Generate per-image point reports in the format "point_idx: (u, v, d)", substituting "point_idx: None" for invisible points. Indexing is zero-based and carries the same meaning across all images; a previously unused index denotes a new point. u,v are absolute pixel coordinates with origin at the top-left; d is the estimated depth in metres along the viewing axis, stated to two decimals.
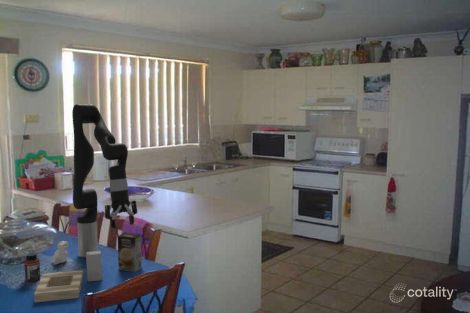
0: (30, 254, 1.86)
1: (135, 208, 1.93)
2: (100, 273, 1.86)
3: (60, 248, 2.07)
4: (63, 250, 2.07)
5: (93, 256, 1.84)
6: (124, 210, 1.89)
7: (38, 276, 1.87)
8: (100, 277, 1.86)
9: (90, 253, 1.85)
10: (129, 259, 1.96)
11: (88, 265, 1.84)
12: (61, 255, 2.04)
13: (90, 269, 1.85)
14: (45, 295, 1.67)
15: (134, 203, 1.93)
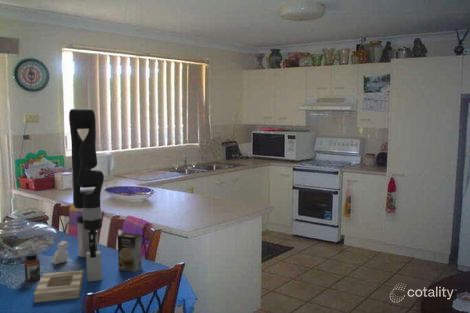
0: (30, 254, 1.86)
1: None
2: (100, 273, 1.86)
3: (60, 248, 2.07)
4: (63, 250, 2.07)
5: None
6: None
7: (38, 276, 1.87)
8: (100, 277, 1.86)
9: None
10: (129, 259, 1.96)
11: (88, 265, 1.84)
12: (61, 255, 2.04)
13: (90, 269, 1.85)
14: (45, 295, 1.67)
15: (96, 229, 1.91)
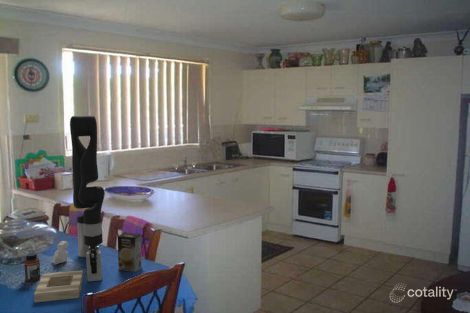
0: (30, 254, 1.86)
1: None
2: (100, 273, 1.86)
3: (60, 248, 2.07)
4: (63, 250, 2.07)
5: None
6: None
7: (38, 276, 1.87)
8: (100, 277, 1.86)
9: None
10: (129, 259, 1.96)
11: (88, 265, 1.84)
12: (61, 255, 2.04)
13: (90, 269, 1.85)
14: (45, 295, 1.67)
15: (97, 246, 1.92)
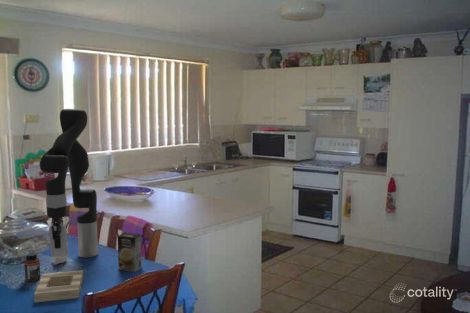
0: (30, 254, 1.86)
1: None
2: (64, 248, 1.74)
3: None
4: None
5: None
6: None
7: (38, 276, 1.87)
8: (64, 252, 1.75)
9: None
10: (129, 259, 1.96)
11: (51, 239, 1.73)
12: None
13: (53, 244, 1.73)
14: (45, 295, 1.67)
15: (62, 220, 1.80)
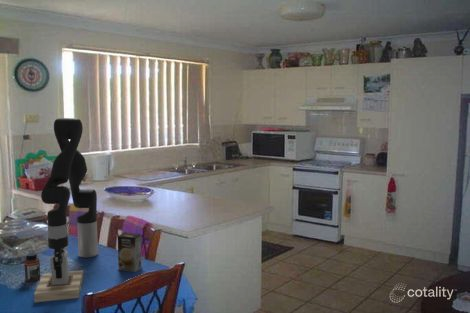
0: (30, 254, 1.86)
1: None
2: (66, 278, 1.76)
3: None
4: None
5: None
6: None
7: (38, 276, 1.87)
8: (66, 282, 1.76)
9: None
10: (129, 259, 1.96)
11: (53, 269, 1.74)
12: None
13: (55, 274, 1.75)
14: (45, 295, 1.67)
15: (63, 249, 1.82)
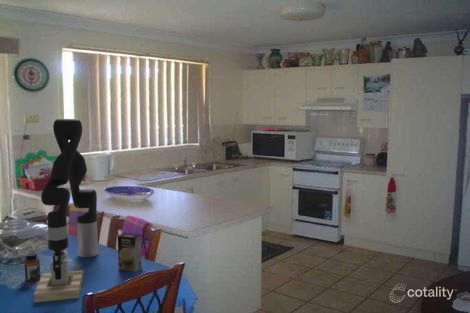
0: (30, 254, 1.86)
1: None
2: (66, 283, 1.76)
3: None
4: None
5: None
6: None
7: (38, 276, 1.87)
8: None
9: None
10: (129, 259, 1.96)
11: (53, 274, 1.74)
12: None
13: (55, 279, 1.75)
14: (45, 295, 1.67)
15: None
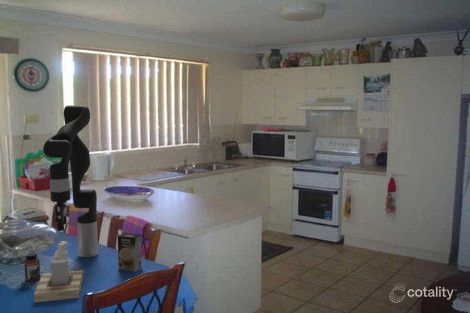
0: (30, 254, 1.86)
1: None
2: (66, 283, 1.76)
3: (60, 248, 2.07)
4: (63, 250, 2.07)
5: (59, 265, 1.74)
6: None
7: (38, 276, 1.87)
8: None
9: (55, 262, 1.75)
10: (129, 259, 1.96)
11: (53, 274, 1.74)
12: (61, 255, 2.04)
13: (55, 279, 1.75)
14: (45, 295, 1.67)
15: None
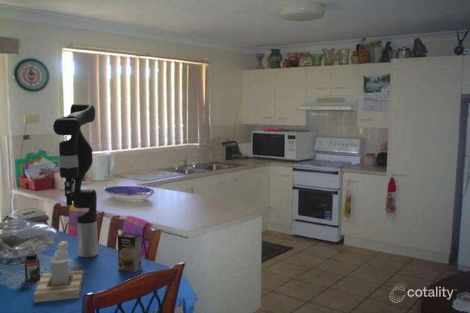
0: (30, 254, 1.86)
1: None
2: (66, 283, 1.76)
3: (60, 248, 2.07)
4: (63, 250, 2.07)
5: (59, 265, 1.74)
6: None
7: (38, 276, 1.87)
8: None
9: (55, 262, 1.75)
10: (129, 259, 1.96)
11: (53, 274, 1.74)
12: (61, 255, 2.04)
13: (55, 279, 1.75)
14: (45, 295, 1.67)
15: (74, 179, 1.91)
